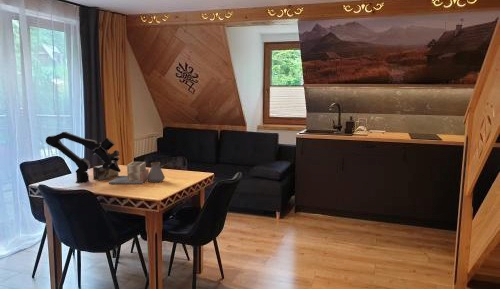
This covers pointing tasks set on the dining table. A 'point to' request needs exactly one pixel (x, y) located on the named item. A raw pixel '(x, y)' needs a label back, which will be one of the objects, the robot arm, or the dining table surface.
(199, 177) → the dining table surface
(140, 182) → the grey tray
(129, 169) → the box
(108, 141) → the robot arm
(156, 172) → the coffee pot
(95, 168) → the coffee box
